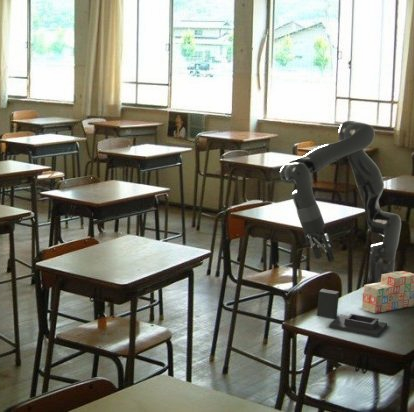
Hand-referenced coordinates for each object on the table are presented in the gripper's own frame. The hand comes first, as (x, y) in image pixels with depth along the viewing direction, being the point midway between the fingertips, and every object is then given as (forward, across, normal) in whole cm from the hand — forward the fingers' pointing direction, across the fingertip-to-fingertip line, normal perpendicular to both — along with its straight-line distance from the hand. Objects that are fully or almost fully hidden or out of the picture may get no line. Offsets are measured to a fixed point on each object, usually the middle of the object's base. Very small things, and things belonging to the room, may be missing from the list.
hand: (325, 259), depth 303 cm
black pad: (+21, +6, +4) cm, 22 cm away
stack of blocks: (+31, +11, -22) cm, 40 cm away
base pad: (+24, -7, 0) cm, 26 cm away
